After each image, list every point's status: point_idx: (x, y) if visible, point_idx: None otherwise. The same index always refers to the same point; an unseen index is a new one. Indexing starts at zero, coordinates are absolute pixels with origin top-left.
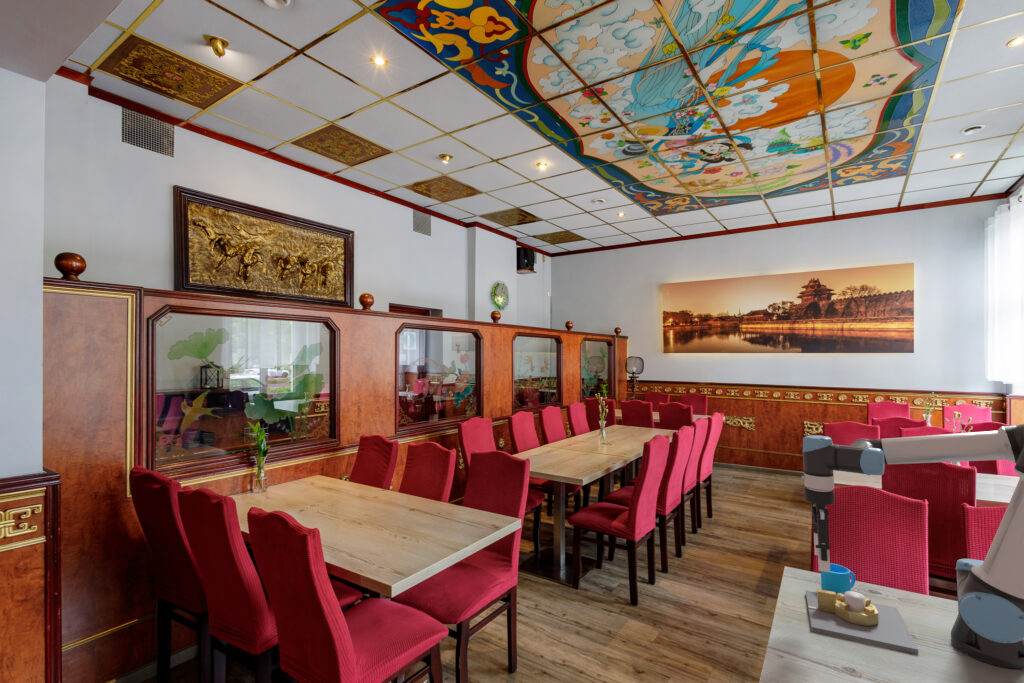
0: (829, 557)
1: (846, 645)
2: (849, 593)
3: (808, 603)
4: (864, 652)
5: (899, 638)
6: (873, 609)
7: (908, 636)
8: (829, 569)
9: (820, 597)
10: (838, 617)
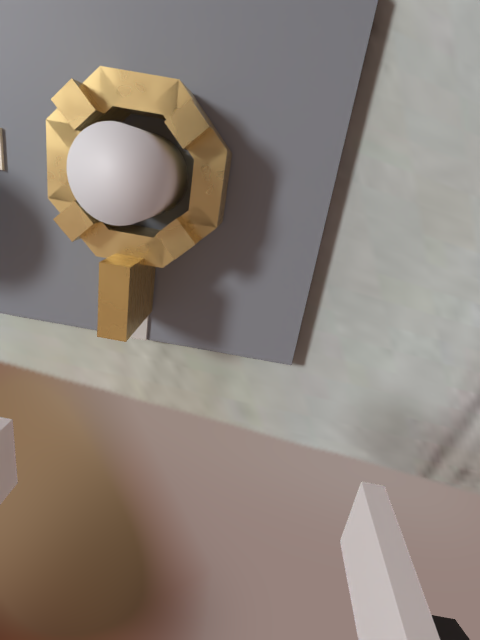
0: (436, 632)
1: (363, 272)
2: (102, 198)
3: None
4: (400, 223)
5: (297, 36)
6: (190, 104)
7: None
8: (391, 509)
9: (135, 321)
10: None
